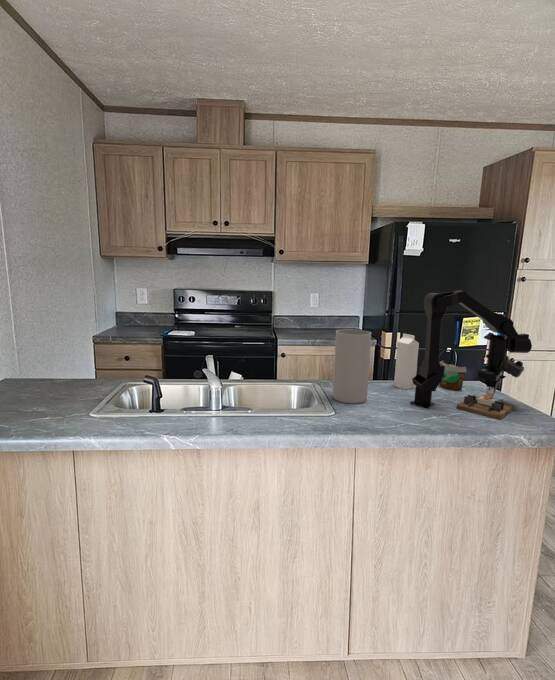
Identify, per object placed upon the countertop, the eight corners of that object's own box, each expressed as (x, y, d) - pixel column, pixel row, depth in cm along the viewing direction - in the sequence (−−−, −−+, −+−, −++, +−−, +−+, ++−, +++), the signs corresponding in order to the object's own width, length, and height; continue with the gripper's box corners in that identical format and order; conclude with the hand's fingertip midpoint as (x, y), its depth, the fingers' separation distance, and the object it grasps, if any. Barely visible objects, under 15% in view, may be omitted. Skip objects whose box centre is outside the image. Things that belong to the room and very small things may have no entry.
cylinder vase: (373, 399, 146) (378, 332, 142) (352, 406, 138) (357, 336, 133) (346, 391, 155) (350, 328, 151) (325, 397, 147) (328, 331, 143)
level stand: (499, 419, 129) (501, 408, 128) (456, 408, 139) (457, 397, 138) (514, 408, 140) (516, 397, 139) (473, 399, 150) (474, 388, 149)
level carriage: (492, 406, 136) (494, 390, 135) (477, 402, 140) (478, 387, 139) (497, 403, 140) (499, 388, 139) (482, 399, 143) (483, 384, 142)
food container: (429, 384, 168) (431, 361, 166) (440, 383, 170) (442, 360, 169) (453, 392, 157) (456, 368, 155) (464, 391, 159) (467, 367, 158)
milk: (404, 390, 159) (409, 336, 155) (393, 386, 164) (397, 333, 160) (415, 388, 162) (419, 335, 158) (404, 384, 167) (408, 332, 163)
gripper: (515, 360, 128) (508, 406, 130) (530, 352, 141) (524, 395, 143) (478, 354, 135) (473, 398, 138) (496, 347, 148) (491, 388, 151)
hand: (491, 394), depth 143 cm, fingers closed
